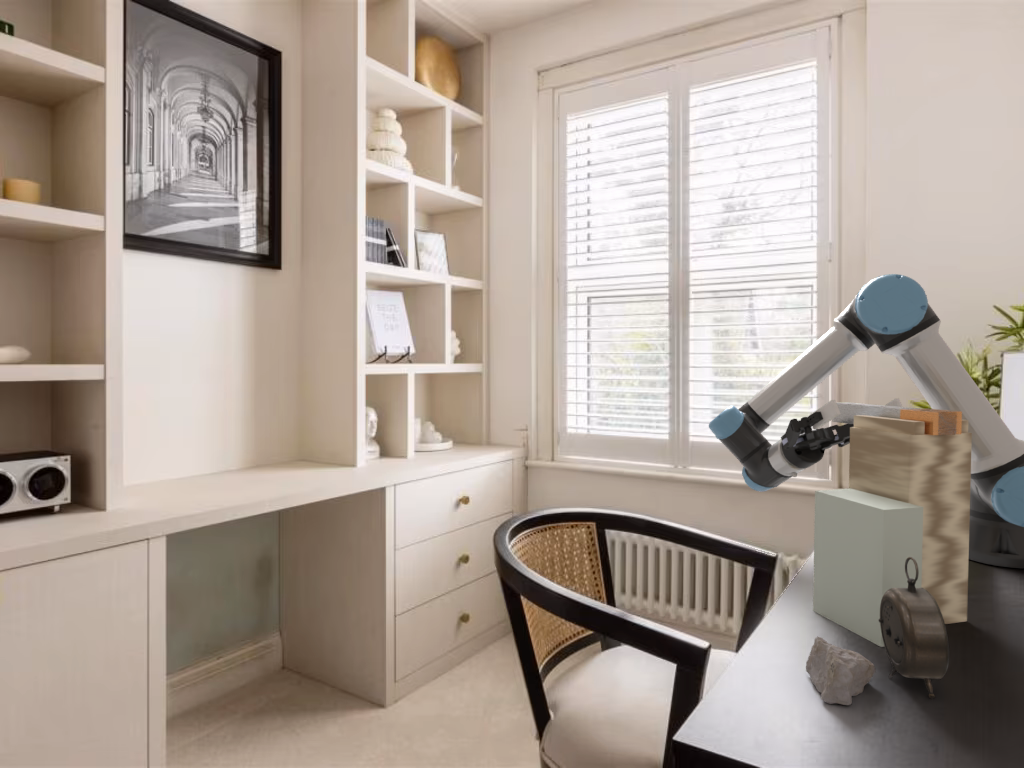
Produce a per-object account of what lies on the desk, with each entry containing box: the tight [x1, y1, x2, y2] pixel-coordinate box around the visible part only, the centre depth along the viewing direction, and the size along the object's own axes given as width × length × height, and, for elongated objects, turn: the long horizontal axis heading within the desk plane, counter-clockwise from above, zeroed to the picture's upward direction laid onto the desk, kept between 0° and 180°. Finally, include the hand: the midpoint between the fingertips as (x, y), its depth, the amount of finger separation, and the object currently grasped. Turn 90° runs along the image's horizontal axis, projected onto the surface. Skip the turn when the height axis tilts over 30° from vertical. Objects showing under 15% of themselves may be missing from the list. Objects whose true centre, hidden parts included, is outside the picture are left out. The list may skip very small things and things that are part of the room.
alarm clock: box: [879, 557, 950, 699], centre depth 84 cm, size 11×5×16 cm, turn 168°
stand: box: [848, 415, 972, 625], centre depth 107 cm, size 12×12×32 cm
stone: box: [805, 636, 877, 706], centre depth 82 cm, size 10×8×6 cm
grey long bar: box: [831, 401, 962, 435], centre depth 110 cm, size 6×22×4 cm, turn 15°
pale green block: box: [812, 488, 923, 648], centre depth 101 cm, size 7×14×20 cm, turn 15°
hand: (868, 405), depth 114 cm, fingers open, 13 cm apart
